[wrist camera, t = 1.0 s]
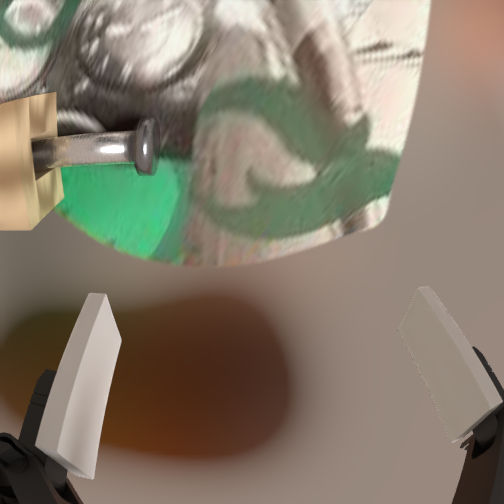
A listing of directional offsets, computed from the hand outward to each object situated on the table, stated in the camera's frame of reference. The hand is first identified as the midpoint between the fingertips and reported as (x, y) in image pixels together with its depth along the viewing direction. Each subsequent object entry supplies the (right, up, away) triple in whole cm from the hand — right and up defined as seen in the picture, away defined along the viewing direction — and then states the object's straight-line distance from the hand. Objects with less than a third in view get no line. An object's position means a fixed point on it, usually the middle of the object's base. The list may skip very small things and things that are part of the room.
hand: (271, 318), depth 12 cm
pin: (-17, +14, +14) cm, 26 cm away
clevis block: (-27, +14, +13) cm, 33 cm away
